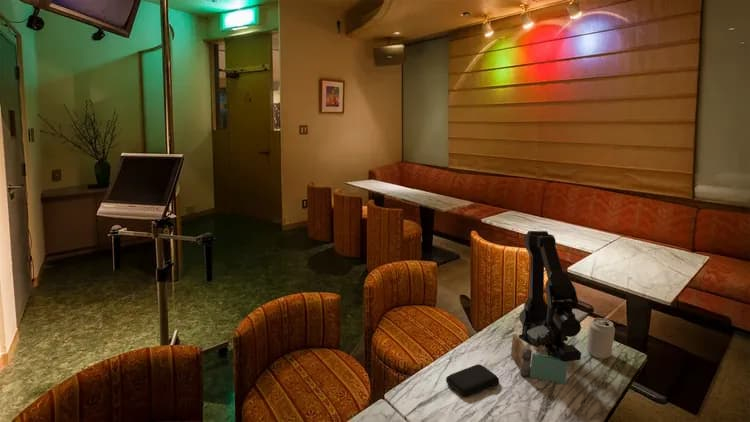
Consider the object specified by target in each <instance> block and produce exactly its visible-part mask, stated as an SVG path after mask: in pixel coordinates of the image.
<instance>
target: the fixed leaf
mask: <svg viewBox="0 0 750 422" xmlns="http://www.w3.org/2000/svg"><path fill="white" fill-rule="evenodd" d="M532 351H533V350H531V349H530V348H527V347H526V346H525V344H524V343H523V341H522V339H521V338H520V337H519V335H518V334H516V333H514V334H512V339H511V351H510V352H511V353H510V356H511V358H512V360H513V361H514V363H515V365H516V366H517V368H518V369H519V371H520V373H519V374H520V377H523V378H525V379H526V378H529V377H530V373H531V369H530V370H529V371H525V370H522V369H521V363H522V359H523V360H526V361H530V360H531V361H532V354H533V352H532Z"/></svg>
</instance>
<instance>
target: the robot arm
mask: <svg viewBox="0 0 750 422" xmlns="http://www.w3.org/2000/svg"><path fill="white" fill-rule="evenodd" d="M523 242H524V244H525V249H526V251H527V253H528V254H529V288H528V289H529V291H528V292H529V296H528V298H527V299H526V300H525V302H524V305H523V309H522V311H521V312H520V313H519V321H520V323H521V324H522V330H521V334H518V337H519V339H521V340H523V341H526V343H528V344H529V345H532V346H534V347H535V348H536V347H537V348H538V347H544V349H545V351H546V356H551V357H556V358H559V359H560V360H561V361H563V362H567V361H568V362H574V361H580V360H582V359H581V358H582V352H581V351H580V350H579V349H578V348H576V347H575V346H574V345H573V344H568V343H567V342H568V341H569V338H572V337H575V336H577V335H578V334H579V333H580V332H581V328H582V326H581V325H582V324H581V323H580V321H579V320H578V319H577V317H576V314H575V313H574V312H573V310H578V304H579V300H578V296H577V290H576V288H575V285H574V284H573V282H572V279H571V277H570V276H568V275H567V274H566V273H565V272H564V269H563V267H562V263H561V261H560V256H559V252H558V251H557V246H556V238H555V235H553V234H549V232H548V231H547V230H528V231H527V233H525V234H524V236H523ZM545 272H546V276H547V280H546V282H545ZM544 287H545V289H544ZM544 291H545V292H544ZM544 294H545V295H544ZM544 296H546V299H547V302H546V301H545V299H544Z"/></svg>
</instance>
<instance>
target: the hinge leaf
mask: <svg viewBox="0 0 750 422" xmlns="http://www.w3.org/2000/svg"><path fill="white" fill-rule="evenodd" d="M568 365H569V361H567V362H563V361H561V360H560V359H559V358H556V357H551V356H547V354H546V355H545V354H541V353H535V352H532V354H531V360H530V361H526V360H523V359H522V363H521V369H522V370H525V371H529V370H530V373H529V377H531V378H536V379H539V380H544V381H548V382H553V383H557V384H563V385H566V380H567V373H568Z"/></svg>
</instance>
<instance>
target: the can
mask: <svg viewBox="0 0 750 422" xmlns="http://www.w3.org/2000/svg"><path fill="white" fill-rule="evenodd" d="M615 333H616V328H615V326H614V322H613V321H611V320H609V319H607V318H602V317H595V318H593V319H592V321H591V322H590V323H589V329H588V334H587V335H588V336H587V342H586V351H587V353H588V354H590V356H592V357H594V358H597V359H601V360H606V359H608V358H610V357H612V353H613V352H612V351H613V345H614V339H615Z"/></svg>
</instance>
